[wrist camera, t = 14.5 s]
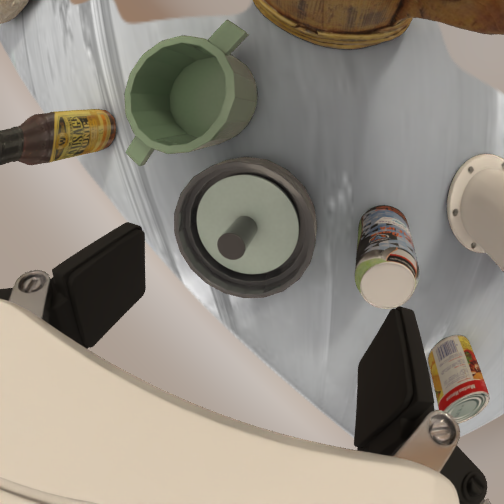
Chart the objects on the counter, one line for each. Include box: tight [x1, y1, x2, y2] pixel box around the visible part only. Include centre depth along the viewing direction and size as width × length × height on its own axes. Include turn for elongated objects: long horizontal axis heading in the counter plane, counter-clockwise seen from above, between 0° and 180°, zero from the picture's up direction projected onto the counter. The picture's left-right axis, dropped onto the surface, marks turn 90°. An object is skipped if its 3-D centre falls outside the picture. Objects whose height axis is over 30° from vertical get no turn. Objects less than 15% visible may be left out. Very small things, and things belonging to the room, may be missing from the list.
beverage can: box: [355, 205, 419, 309], centre depth 26 cm, size 6×7×12 cm
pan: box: [174, 157, 317, 298], centre depth 33 cm, size 16×16×4 cm
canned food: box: [428, 335, 490, 424], centre depth 31 cm, size 8×8×12 cm
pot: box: [124, 20, 258, 166], centre depth 26 cm, size 12×17×8 cm
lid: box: [197, 174, 299, 274], centre depth 32 cm, size 13×13×7 cm
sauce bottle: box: [0, 109, 116, 165], centre depth 26 cm, size 7×6×20 cm
